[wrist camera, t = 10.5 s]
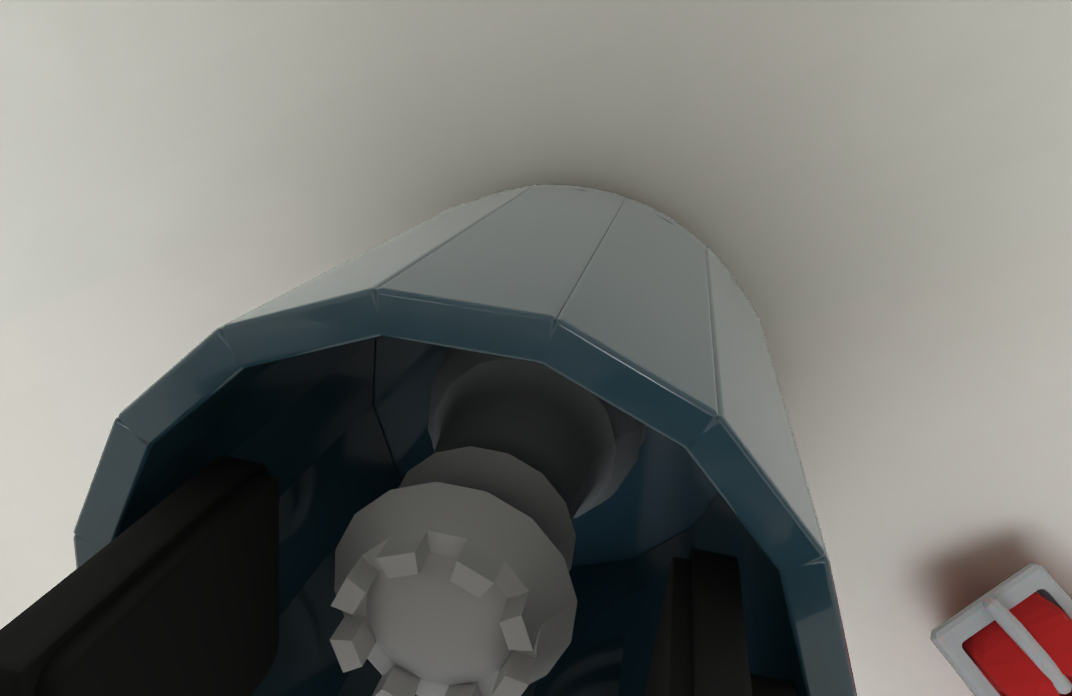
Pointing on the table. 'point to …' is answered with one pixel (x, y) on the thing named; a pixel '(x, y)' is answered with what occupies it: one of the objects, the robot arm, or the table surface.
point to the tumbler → (525, 334)
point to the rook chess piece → (480, 533)
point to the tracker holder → (1013, 638)
